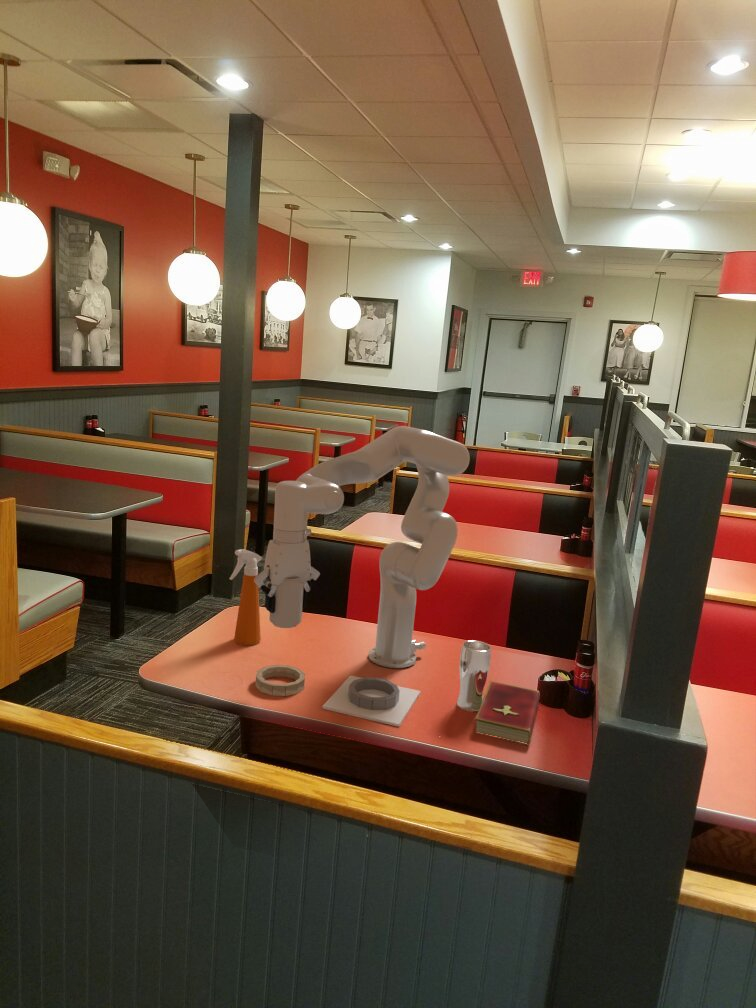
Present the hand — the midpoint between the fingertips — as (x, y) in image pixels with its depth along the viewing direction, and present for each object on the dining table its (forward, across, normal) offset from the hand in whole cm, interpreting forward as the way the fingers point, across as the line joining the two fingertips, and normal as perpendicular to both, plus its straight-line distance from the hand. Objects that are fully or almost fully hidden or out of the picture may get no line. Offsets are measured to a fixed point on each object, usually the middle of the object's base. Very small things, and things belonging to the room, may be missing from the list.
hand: (286, 608), depth 169 cm
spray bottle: (+19, -1, -27) cm, 33 cm away
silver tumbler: (+20, -35, +28) cm, 49 cm away
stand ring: (+19, 0, 0) cm, 19 cm away
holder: (+19, -16, +16) cm, 29 cm away
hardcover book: (+20, -39, +36) cm, 57 cm away
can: (+4, 0, 0) cm, 4 cm away
